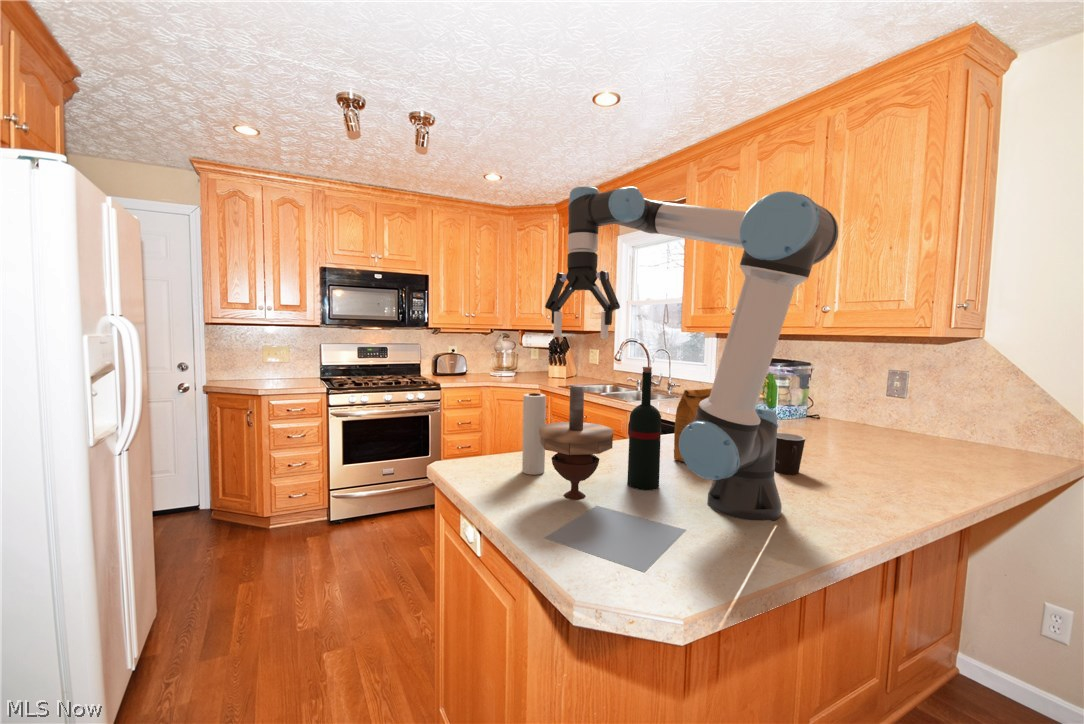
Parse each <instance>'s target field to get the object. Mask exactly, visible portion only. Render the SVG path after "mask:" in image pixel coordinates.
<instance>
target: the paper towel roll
mask: <svg viewBox="0 0 1084 724" xmlns="http://www.w3.org/2000/svg"><path fill="white" fill-rule="evenodd" d="M546 399H547V395H546V394H544V393H540V392H536V393H535V392H534V393H533V392H531V393H524V394H523V400H522V403H523V404H522V405H523V406H522V407H523V409H522V464H521V465H522V467H521V468H522V473H524V474H527V475H533V476H534V475H535V476H537V475H541V474H543V473H545V468H546V465H545V464H546V461H545V460H546V450H545V449H544V448H543V446H542V445H541V443H540V435H539V428H540V427H541V426H543V425H546V418H547V417H546V413H547V412H546V410H547V409H546V405H547V404H546V403H547V401H546Z"/></svg>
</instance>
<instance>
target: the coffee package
mask: <svg viewBox="0 0 1084 724" xmlns="http://www.w3.org/2000/svg"><path fill="white" fill-rule="evenodd" d="M711 390H712V388H702V389H684V391H683V393H682V396H681V398H680V401H679V402H678V404H677V407H676V410H675V411H676V413H675V421H674V432H673V433H674V437H673V438H674V440H673V441H674V442H673V443H674V444H673V459H674V460H675V461H679V462H682V463H683V462H684V463H685V461H684V459H683V458H682V457H681V454H680V450H679V438H680V435H681V433H682V431H683V429H684V428H685V427H686V426H687V425H688V424H690V423H692V422H694V419H695V416H696V412H697V409H698V406H699V403H700V401H702V400H704V399H706V398H708V397H709V396H710V393H711Z"/></svg>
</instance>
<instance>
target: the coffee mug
mask: <svg viewBox="0 0 1084 724" xmlns="http://www.w3.org/2000/svg"><path fill="white" fill-rule="evenodd" d="M805 443H806V437H804V436H802V435H799V434H793V433H789V432H788V433H787V432H777V440H776V456H775V471H774V473H778V474H781V475H786V476H797V475H799V472H800V467H801V463H802V457H803V452H804V447H805Z"/></svg>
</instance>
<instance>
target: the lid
mask: <svg viewBox="0 0 1084 724" xmlns="http://www.w3.org/2000/svg"><path fill="white" fill-rule="evenodd" d="M584 405H585V386H584V385H570V386H569V417H568V418H569V419H568V420H569V421H560V422H550V423H545V425H543V426H541V427H540V428H539V435H540V443H541V445H542V446H543V448H544V449H545V451H550V452H555V453H557V452H558V453H563V454H568V455H569V454H570V455H581V454H593V455H600V454H602V453H604V452H607V451H609V450H611V449H613V441H614V439H613V438H614V429H612V428H611V427H609V426H606V425H603V424H599V423H593V422H584V409H585V407H584Z"/></svg>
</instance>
